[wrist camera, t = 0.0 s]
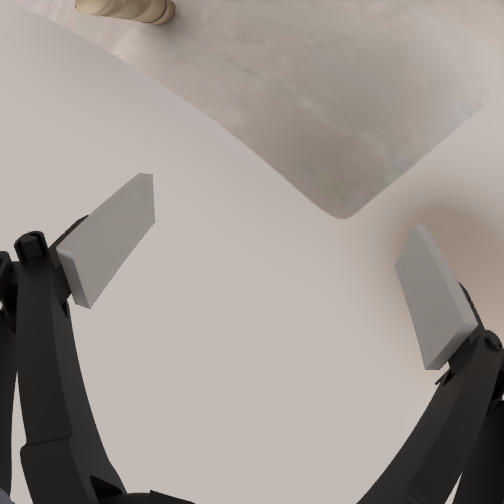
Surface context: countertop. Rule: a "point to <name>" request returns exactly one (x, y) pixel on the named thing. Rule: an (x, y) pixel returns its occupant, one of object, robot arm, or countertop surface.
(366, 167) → the countertop surface
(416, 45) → the countertop surface
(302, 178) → the countertop surface
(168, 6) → the peg
